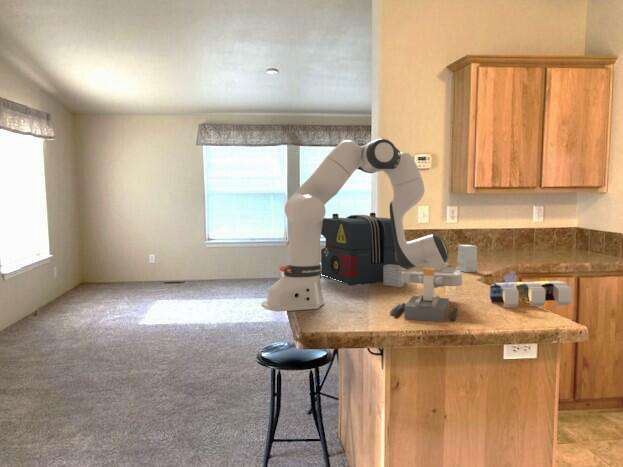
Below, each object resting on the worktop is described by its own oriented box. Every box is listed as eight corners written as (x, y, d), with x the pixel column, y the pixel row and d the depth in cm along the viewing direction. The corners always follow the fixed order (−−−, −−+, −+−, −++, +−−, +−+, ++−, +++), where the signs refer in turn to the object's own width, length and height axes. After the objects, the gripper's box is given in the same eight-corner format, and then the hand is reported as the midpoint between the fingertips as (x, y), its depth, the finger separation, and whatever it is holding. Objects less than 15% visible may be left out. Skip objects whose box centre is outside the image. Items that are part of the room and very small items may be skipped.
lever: (432, 301, 159) (433, 269, 158) (422, 300, 160) (423, 269, 159) (434, 298, 162) (434, 268, 161) (424, 298, 163) (424, 267, 162)
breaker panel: (443, 321, 149) (444, 305, 149) (404, 318, 154) (404, 302, 153) (448, 310, 164) (448, 295, 164) (412, 307, 168) (412, 293, 168)
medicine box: (404, 286, 207) (404, 265, 207) (398, 287, 204) (398, 267, 203) (388, 283, 213) (389, 264, 212) (382, 285, 209) (383, 265, 209)
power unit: (403, 280, 221) (403, 214, 218) (350, 285, 209) (350, 215, 206) (369, 271, 246) (369, 212, 243) (320, 276, 234) (320, 213, 231)
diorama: (504, 309, 166) (505, 271, 165) (489, 302, 177) (490, 266, 175) (571, 306, 170) (572, 269, 169) (552, 300, 180) (553, 265, 179)
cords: (454, 322, 148) (454, 317, 148) (387, 316, 156) (387, 312, 156) (458, 310, 163) (458, 306, 163) (397, 305, 170) (397, 301, 170)
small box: (476, 272, 243) (477, 246, 242) (465, 272, 241) (465, 246, 240) (468, 269, 251) (468, 244, 250) (457, 270, 249) (457, 244, 248)
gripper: (404, 264, 176) (396, 270, 163) (463, 267, 169) (460, 273, 156) (404, 281, 176) (396, 288, 164) (463, 285, 169) (460, 293, 156)
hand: (428, 281), depth 160 cm, fingers closed on lever, 3 cm apart
